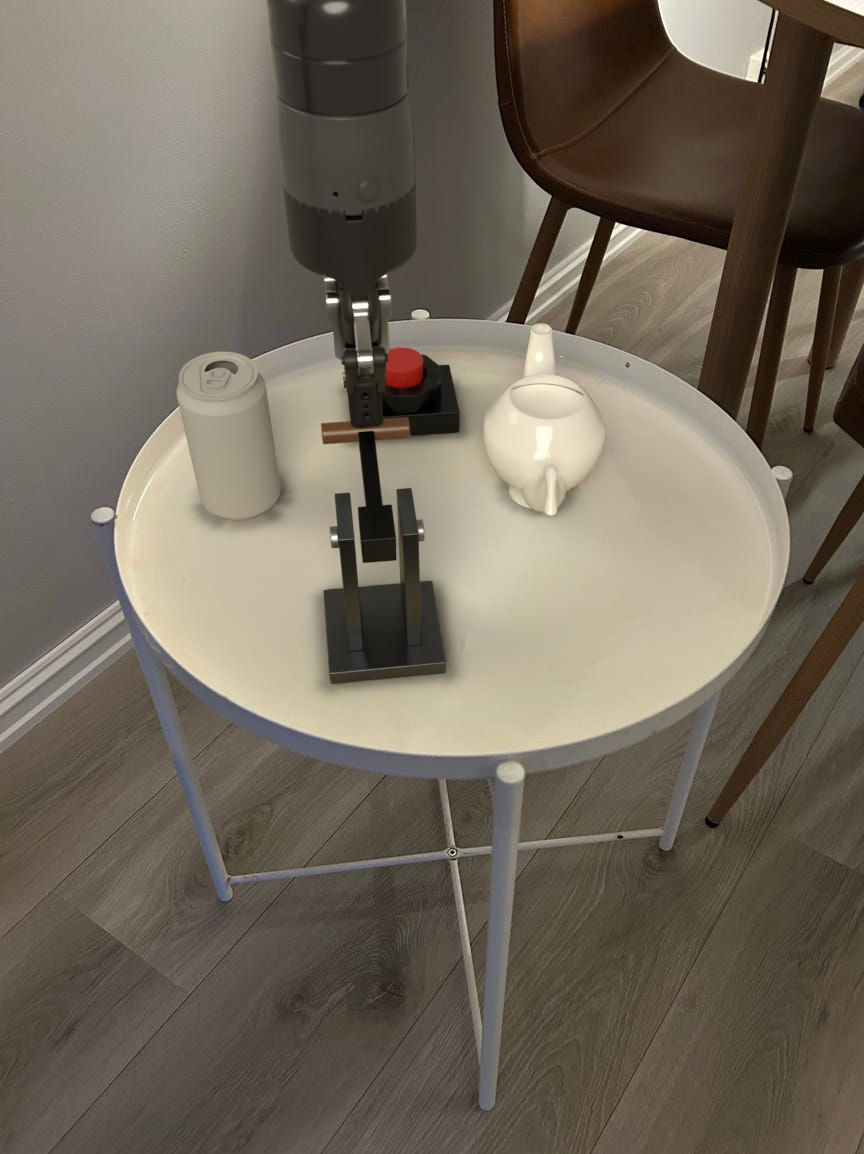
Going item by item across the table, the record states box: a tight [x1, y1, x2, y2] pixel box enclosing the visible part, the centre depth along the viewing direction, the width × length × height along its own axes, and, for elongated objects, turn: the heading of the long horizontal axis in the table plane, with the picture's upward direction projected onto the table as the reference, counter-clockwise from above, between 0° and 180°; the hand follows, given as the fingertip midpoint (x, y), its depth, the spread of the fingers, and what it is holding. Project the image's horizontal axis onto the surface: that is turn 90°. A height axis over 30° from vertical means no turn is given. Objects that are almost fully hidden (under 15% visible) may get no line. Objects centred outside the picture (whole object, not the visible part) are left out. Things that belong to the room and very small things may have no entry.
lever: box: [320, 417, 411, 564], centre depth 71 cm, size 11×6×2 cm, turn 8°
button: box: [386, 347, 423, 388], centre depth 91 cm, size 4×4×2 cm
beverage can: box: [176, 351, 282, 521], centre depth 81 cm, size 6×6×12 cm
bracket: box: [322, 487, 447, 685], centre depth 72 cm, size 8×8×12 cm
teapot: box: [481, 323, 607, 516], centre depth 84 cm, size 10×20×9 cm, turn 0°
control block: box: [381, 353, 461, 437], centre depth 93 cm, size 9×7×4 cm
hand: (366, 420), depth 73 cm, fingers closed
